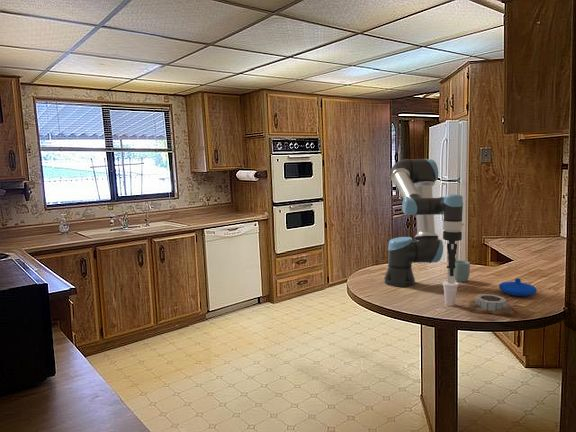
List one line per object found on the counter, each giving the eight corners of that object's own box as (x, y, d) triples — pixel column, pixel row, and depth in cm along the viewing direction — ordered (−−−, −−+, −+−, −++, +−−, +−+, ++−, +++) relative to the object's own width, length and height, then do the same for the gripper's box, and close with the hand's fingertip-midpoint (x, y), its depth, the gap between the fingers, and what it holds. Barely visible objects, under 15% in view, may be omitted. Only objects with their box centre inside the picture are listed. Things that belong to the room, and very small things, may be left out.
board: (470, 311, 181) (470, 308, 181) (468, 302, 193) (469, 300, 192) (513, 315, 176) (513, 313, 176) (509, 306, 187) (509, 303, 187)
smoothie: (439, 302, 193) (440, 271, 192) (453, 301, 194) (454, 271, 192) (445, 307, 187) (447, 275, 185) (460, 306, 188) (461, 275, 186)
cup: (470, 283, 222) (471, 264, 221) (454, 282, 224) (455, 263, 223) (467, 279, 230) (468, 260, 229) (452, 278, 231) (452, 260, 230)
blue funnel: (515, 287, 215) (516, 273, 214) (544, 296, 200) (545, 281, 199) (491, 291, 210) (491, 276, 209) (518, 300, 195) (519, 285, 194)
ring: (476, 309, 181) (476, 301, 180) (474, 300, 191) (474, 293, 191) (507, 312, 177) (507, 303, 176) (503, 303, 188) (504, 295, 187)
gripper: (463, 235, 173) (461, 287, 176) (460, 227, 197) (459, 273, 199) (443, 234, 176) (441, 286, 178) (443, 226, 199) (441, 272, 202)
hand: (450, 279), depth 189 cm, fingers open, 13 cm apart
